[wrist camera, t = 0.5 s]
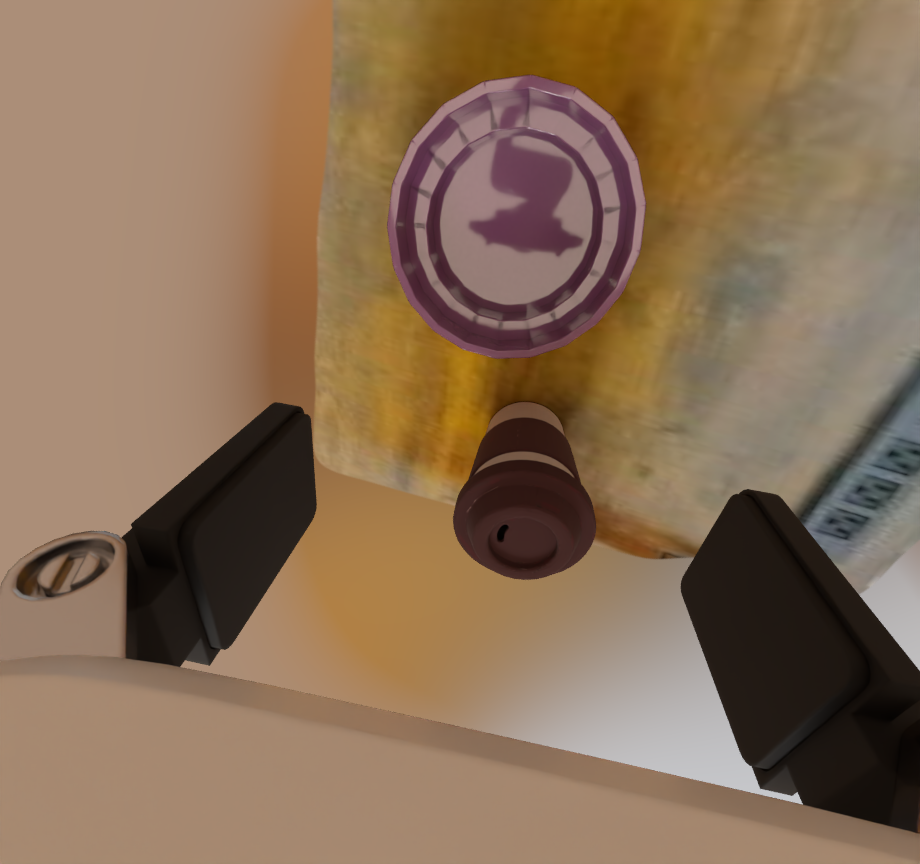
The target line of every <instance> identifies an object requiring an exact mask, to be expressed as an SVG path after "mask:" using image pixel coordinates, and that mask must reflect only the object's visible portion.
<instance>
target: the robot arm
mask: <svg viewBox="0 0 920 864" xmlns="http://www.w3.org/2000/svg"><path fill="white" fill-rule="evenodd" d="M316 505H317V504H316V490H315V474H314V459H313V444H312V429H311V418H310V416H309V415H307V414H304V411H303V409H302V408H301V407H299V406H293V405H288V404H283V403H273V404H271V405H270V406H269V407H268V408H266V409H265V410H264V411H263V412H262V413H261V414H260V415H258V416H257V417H256V418H255V419H254V420H252V421H251V422H250V423H249V424H248V425H247V426H245V427H244V428H243V429H242V430H241V431H240V432H238V433H237V434H236V435H235V436H234V437H232V438H231V439H230V440H229V441H228V442H227V443H225V444H224V445H223V446H222V447H221V448H220V449H218V450H217V451H216V452H215V453H214V454H213V455H211V456H210V457H209V458H208V459H207V460H206V461H204V463H202V464H201V465H200V466H199V467H197V468H196V469H195V470H194V471H193V472H191V473H190V474H189V475H188V476H187V477H186V478H185V479H183V480H182V481H181V482H180V483H179V484H178V485H176V486H175V487H174V488H173V489H172V490H171V491H169V492H168V493H167V494H166V495H165V496H163V497H162V498H161V499H160V500H159V501H157V502H156V503H155V504H154V505H153V506H152V507H151V508H149V509H148V510H147V511H146V512H145V513H143V514H142V515H141V516H140V517H139V518H138V519H136V520H135V521H134V522H133V523H132V524H131V526H132V529H131V530H130V531H128V533H126V534H125V535H124V536H123V537H122V538H121V537H119V536H118V535H116V534H113V533H110V532H106V531H88V532H81V533H75V534H71V535H67V536H65V537H61V538H58V539H54V540H52V541H50V542H48V543H46V544H44V545H42V546H40V547H37V548H36V549H34V550H33V551H32V552H30V553H29V554H27V555H25V556H24V557H22V558H21V559H20V560H19V561H18V562H17V563H16V564H15V565H14V566H13V567H12V568H11V569H10V570H8V572H7V574H6V576H5V577H4V579H3V581H2V583H1V586H0V864H920V671H919V670H918V668H917V667H916V666H915V665H914V663H913V662H912V661H911V660H910V658H909V657H908V656H907V655H906V653H905V652H904V651H903V650H902V648H901V647H900V646H899V644H898V643H897V642H896V641H895V640H894V638H893V637H892V636H891V634H890V633H889V632H888V631H887V630H886V628H885V627H884V626H883V625H882V623H881V622H880V621H879V620H878V618H877V617H876V616H875V614H874V613H873V612H872V611H871V609H870V608H869V607H868V606H867V604H866V603H865V602H864V601H863V599H862V598H861V597H860V596H859V594H858V593H857V592H856V591H855V589H854V588H853V587H852V586H851V584H850V583H849V582H848V581H847V579H846V578H845V577H844V576H843V574H842V573H841V572H840V571H839V569H838V568H837V567H836V566H835V564H834V563H833V562H832V561H831V559H830V558H829V557H828V556H827V554H826V553H825V552H824V551H823V549H822V548H821V547H820V546H819V544H818V543H817V542H816V541H815V539H814V538H813V537H812V536H811V534H810V533H809V532H808V531H807V529H806V528H805V527H804V526H803V524H802V523H801V522H800V521H799V519H798V518H797V517H796V516H795V514H794V513H793V512H792V511H791V509H790V508H789V507H788V506H787V504H786V503H785V502H784V501H783V499H782V498H781V497H779V496H778V495H775V494H771V493H766V492H760V491H755V490H749V489H747V490H743V491H742V492H740V493H739V494H735V495H733V496H731V498H730V499H729V500H728V502H727V504H726V506H725V507H724V509H723V511H722V512H721V514H720V516H719V517H718V519H717V521H716V522H715V524H714V526H713V527H712V529H711V531H710V532H709V534H708V536H707V537H706V539H705V541H704V542H703V544H702V546H701V547H700V549H699V551H698V552H697V554H696V556H695V557H694V559H693V561H692V562H691V564H690V566H689V567H688V569H687V571H686V572H685V574H684V576H683V578H682V581H681V593H682V596H683V599H684V602H685V604H686V607H687V610H688V612H689V615H690V618H691V621H692V623H693V626H694V628H695V632H696V634H697V637H698V640H699V642H700V645H701V648H702V651H703V653H704V656H705V658H706V661H707V664H708V667H709V669H710V672H711V675H712V677H713V680H714V683H715V686H716V688H717V691H718V694H719V697H720V699H721V702H722V704H723V707H724V710H725V713H726V716H727V718H728V720H729V723H730V726H731V729H732V732H733V734H734V737H735V740H736V742H737V745H738V748H739V751H740V753H741V755H742V757H743V759H744V760H745V762H746V763H747V764H749V765H750V766H752V768H753V771H754V774H755V776H756V779H757V781H758V784H759V786H760V789H765V790H769V791H774V792H778V793H782V794H787V795H791V796H792V795H794V794H795V793H796V792H798V794H799V796H800V799H801V801H802V803H803V805H802V804H798V803H793V802H789V801H785V800H780V799H776V798H772V797H767V796H763V795H759V794H754V793H750V792H745V791H741V790H737V789H732V788H728V787H723V786H719V785H715V784H711V783H706V782H702V781H697V780H693V779H689V778H684V777H680V776H676V775H671V774H667V773H663V772H658V771H654V770H650V769H645V768H641V767H637V766H632V765H628V764H623V763H619V762H614V761H610V760H606V759H601V758H596V757H592V756H588V755H583V754H579V753H574V752H570V751H565V750H561V749H557V748H552V747H548V746H543V745H539V744H534V743H530V742H526V741H521V740H517V739H512V738H508V737H503V736H499V735H494V734H490V733H485V732H481V731H476V730H472V729H467V728H463V727H459V726H454V725H450V724H445V723H441V722H436V721H432V720H427V719H422V718H418V717H414V716H409V715H404V714H400V713H395V712H391V711H386V710H381V709H377V708H372V707H368V706H363V705H358V704H354V703H349V702H345V701H340V700H336V699H331V698H326V697H321V696H317V695H313V694H308V693H303V692H299V691H294V690H290V689H285V688H281V687H276V686H272V685H267V684H262V683H257V682H252V681H247V680H242V679H237V678H232V677H227V676H222V675H217V674H212V673H207V672H202V671H197V670H191V669H187V668H181V667H180V666H181V665H182V663H183V662H184V661H185V660H187V661H191V662H196V663H200V664H205V665H209V666H210V664H211V663H212V661H213V660H214V658H215V657H216V655H217V654H218V652H219V651H220V649H224V650H225V649H227V648H229V647H230V646H231V645H232V644H233V642H234V641H235V639H236V638H237V636H238V635H239V633H240V632H241V630H242V628H243V627H244V625H245V624H246V622H247V621H248V619H249V618H250V616H251V615H252V613H253V611H254V610H255V608H256V607H257V605H258V604H259V602H260V601H261V599H262V598H263V596H264V594H265V593H266V591H267V590H268V588H269V587H270V585H271V584H272V582H273V580H274V579H275V577H276V576H277V574H278V572H279V571H280V569H281V568H282V567H283V565H284V563H285V562H286V560H287V559H288V557H289V556H290V554H291V553H292V551H293V550H294V548H295V546H296V545H297V543H298V542H299V540H300V538H301V537H302V536H303V534H304V533H305V531H306V529H307V528H308V526H309V525H310V523H311V522H312V520H313V518H314V515H315V512H316Z"/></svg>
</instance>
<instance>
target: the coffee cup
mask: <svg viewBox="0 0 920 864" xmlns="http://www.w3.org/2000/svg"><path fill="white" fill-rule="evenodd" d="M453 524H454V530H455V534H456V536H457V539H458V541H459V543H460V544H461V546H462V547H463V549H464V550H465V551H466V552H467V553H468V554H469V555H470V556H471V558H473V559H474V560H475V561H477V562H478V563H479V564H481V565H483V566H485V567H486V568H488V569H490V570H492V571H495V572H496V573H499V574H501V575H503V576H506V577H510V578H514V579H523V580H525V579H527V580H528V579H539V578H543V577H547V576H549V575H552V574H555V573H558V572H561V571H564V570H566V569H567V568H569V567H571V566H572V565H574V564H575V563H577V562H578V561H579V560H580V559H581V558H582V557H583V556H584V555H585V554H586V553H587V551H588V550H589V548H590V547H591V545H592V543H593V540H594V537H595V533H596V521H595V515H594V510H593V505H592V502H591V499H590V497H589V495H588V493H587V492H586V490H585V489H584V487H583V486H582V485H581V482H580V478H579V475H578V471H577V468H576V465H575V461H574V458H573V454H572V451H571V448H570V445H569V443H568V441H567V439H566V437H565V435H564V432H563V428H562V425H561V423H560V421H559V419H558V418H557V417H556V415H555V414H554V413H553V412H551V411H550V410H549V409H547V408H546V407H544V406H542V405H539V404H536V403H531V402H519V403H514V404H511V405H508V406H506V407H504V408H502V409H501V410H500V411H498V412H497V413H496V414H495V415H494V417H493V418H492V420H491V421H490V423H489V426H488V429H487V432H486V435H485V436H484V438H483V440H482V441H481V444H480V446H479V449H478V452H477V455H476V458H475V461H474V464H473V467H472V470H471V474H470V477H469V480H468V481H467V482H466V484H465V485H464V486H463V488H462V489H461V491H460V493H459V495H458V498H457V502H456V506H455V511H454V516H453Z"/></svg>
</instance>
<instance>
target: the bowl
mask: <svg viewBox="0 0 920 864" xmlns="http://www.w3.org/2000/svg"><path fill="white" fill-rule="evenodd" d="M645 211H646V200H645V195H644V190H643V184H642V179H641V174H640V169H639V163H638V159H637V156H636V155H635V153H634V151H633V149H632V148H631V146H630V144H629V142H628V141H627V139H626V137H625V136H624V134H623V132H622V130H621V129H620V127H619V125H618V123H617V122H616V120H615V118H614V117H613V116H612V115H611V114H610V113H609V112H607V111H606V110H605V109H604V108H602V107H601V106H600V105H598V104H597V103H596V102H595V101H593V100H592V99H591V98H590V97H588V96H587V95H586V94H585V93H583V92H582V91H581V90H580V89H578V88H576V87H575V86H571V85H568V84H564V83H560V82H557V81H553V80H549V79H546V78H542V77H539V76H535V75H523V76H516V77H509V78H501V79H494V80H487V81H485V82H484V81H483V82H481V83H479V84H478V85H476V86H474V87H472V88H470V89H469V90H467V91H465V92H463V93H462V94H460V95H458V96H456V97H454V98H453V99H451V100H449V101H447V102H446V103H444V104H443V105H441V107H440V108H439V109H438V110H437V111H436V112H435V113H434V115H433V116H432V117H431V118H430V119H429V120H428V121H427V123H426V124H425V125H424V126H423V127H422V128H421V129H420V131H419V132H418V133H417V134H416V135H415V136H414V137H413V139H412V141H411V142H410V144H409V146H408V149H407V151H406V153H405V155H404V158H403V160H402V162H401V165H400V167H399V169H398V171H397V174H396V176H395V178H394V181H393V183H392V191H391V199H390V207H389V215H388V222H387V226H388V227H387V229H388V236H389V242H390V249H391V256H392V262H393V267H394V270H395V272H396V275H397V277H398V279H399V281H400V283H401V286H402V288H403V290H404V292H405V294H406V297H407V299H408V301H409V302H410V304H411V305H412V306H413V308H414V309H415V310H416V311H417V312H418V313H419V315H420V316H421V317H422V318H423V319H424V320H425V321H426V323H427V324H428V325H429V326H430V327H431V328H432V330H434V331H435V332H436V333H438V334H440V335H441V336H443V337H444V338H446V339H447V340H449V341H450V342H452V343H454V344H455V345H457V346H458V347H460V348H461V349H463V350H467V351H471V352H474V353H478V354H481V355H485V356H489V357H492V358H530V357H533V356H536V355H539V354H542V353H545V352H548V351H551V350H554V349H557V348H560V347H563V346H565V345H567V344H569V343H570V342H572V341H573V340H574V339H576V338H577V337H579V336H580V335H582V334H583V333H584V332H586V331H587V330H589V329H590V328H592V327H593V326H595V325H596V324H597V323H598V322H599V321H600V320H601V318H602V317H603V316H604V315H605V314H606V312H607V311H608V310H609V309H610V307H611V306H612V305H613V304H614V302H615V301H616V300H617V299H618V298H619V296H620V295H621V294H622V293H623V291H624V289H625V286H626V284H627V282H628V279H629V277H630V275H631V272H632V270H633V268H634V265H635V263H636V261H637V258H638V256H639V254H640V250H641V244H642V236H643V228H644V219H645Z"/></svg>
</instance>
